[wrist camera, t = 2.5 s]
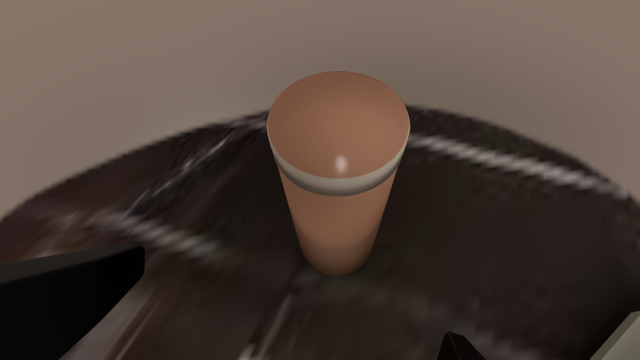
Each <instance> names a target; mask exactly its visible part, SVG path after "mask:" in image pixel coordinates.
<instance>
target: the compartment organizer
mask: <svg viewBox="0 0 640 360" xmlns="http://www.w3.org/2000/svg"><path fill="white" fill-rule="evenodd" d="M590 360H640V311H637V312H632V313H630V314H629V316H628V317H627V318H626V319H625V320H624V321H623V322H622V323H621V325H620V326H619V327H618V328H617V329H616V330H615V331H614V333H613V334H612V335H611V336H610V337H609V338H608V339H607V341H606V342H605V343H604V344H603V345H602V346H601V347H600V348H599V350H598V351H597V352H596V353H595V354H594V355H593V356H592V358H591V359H590Z"/></svg>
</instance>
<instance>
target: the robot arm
mask: <svg viewBox="0 0 640 360" xmlns="http://www.w3.org/2000/svg"><path fill="white" fill-rule="evenodd" d="M144 269H145V250H144V247H143V246H141V245H137V244H134V243H126V244H120V245H114V246H107V247H101V248H95V249H89V250H83V251H77V252H70V253H64V254H58V255H52V256H46V257H40V258H33V259H27V260H21V261H15V262H9V263H2V264H0V360H59V359H60V358H61V357H62V356H63V355H64V354H65V353H66V352H67V351H68V350H70V349H71V348H72V347H73V346H74V345H75V344H76V343H77V342H78V341H79V340H80V339H82V338H83V337H84V336H85V335H86V334H87V333H88V332H89V331H90V330H91V329H93V328H94V327H95V326H96V325H97V324H98V323H99V322H100V321H101V320H102V319H103V318H104V317H105V316H106V315H107V314H108V313H109V312H110V311H111V310H112V309H113V308H114V307H115V305H116V304H117V303H118V302H119V301H120V300H121V299H122V298H123V297H124V296H125V295H126V294H127V293H128V291H129V290H130V289H131V288H132V287H133V286H134V285H135V284H136V283H137V282H138V281H139V280H140V278H141V277H142V276H143V273H144ZM437 360H486V359H485V358H484V357H483V356H482V355H481V354H480V353H479V352H478V351H477V350H476V348H475V347H474V346H473V345H472V344H471V343H470V342H469V341H468V340H467V339H466V338H465V337H464V336H462V335H459V334H456V333H452V332H447V333H446V334H445V335H444V338H443V342H442V345H441V348H440V351H439V354H438V358H437Z"/></svg>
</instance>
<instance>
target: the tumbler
mask: <svg viewBox="0 0 640 360" xmlns="http://www.w3.org/2000/svg"><path fill="white" fill-rule="evenodd" d="M409 131H410V120H409V116H408V112H407V110H406V107H405V105H404V103H403V102H402V100H401V99H400V98H399V96H398V95H397V94H396V93H395V92H394V91H393V90H392V89H391V88H389V87H388V86H387V85H385V84H384V83H382V82H380V81H378V80H376V79H374V78H372V77H369V76H366V75H363V74H358V73H353V72H342V71H341V72H340V71H336V72H325V73H320V74H315V75H312V76H309V77H306V78H304V79H301V80H299V81H297V82H296V83H294V84H292V85H291V86H289V87H288V88H287V89H286V90H284V92H282V93H281V94H280V96H279V97H278V98H277V99H276V101H275V102H274V104H273V106H272V108H271V110H270V112H269V116H268V120H267V134H268V137H269V141H270V145H271V148H272V152H273V155H274V159H275V161H276V163H277V165H278V169H279V172H280V176H281V179H282V183H283V186H284V190H285V194H286V197H287V201H288V204H289V208H290V212H291V215H292V219H293V222H294V226H295V229H296V233H297V237H298V240H299V244H300V247H301V251H302V253H303V256H304V257H305V259H306V260H307V262H308V263H309V264H310V265H311V266H312V267H313V268H315V269H316V270H318V271H320V272H322V273H324V274H328V275H334V276H339V275H346V274H349V273H352V272H354V271H356V270H357V269H359V268H360V267H361V266H363V265H364V263H365V262H366V261H367V260H368V258H369V256H370V254H371V251H372V248H373V245H374V242H375V238H376V235H377V232H378V229H379V225H380V222H381V219H382V216H383V212H384V209H385V206H386V203H387V199H388V196H389V193H390V190H391V187H392V183H393V180H394V177H395V174H396V170H397V167H398V165H399V163H400V161H401V158H402V155H403V152H404V149H405V146H406V142H407V139H408V136H409Z"/></svg>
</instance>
